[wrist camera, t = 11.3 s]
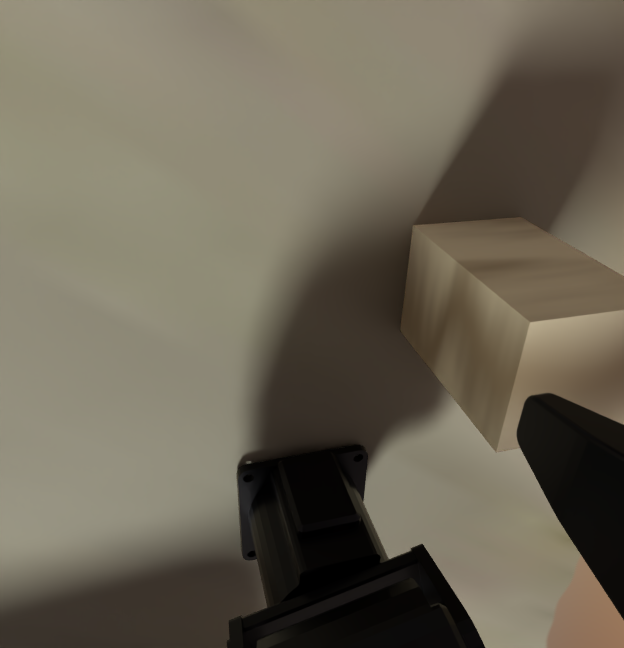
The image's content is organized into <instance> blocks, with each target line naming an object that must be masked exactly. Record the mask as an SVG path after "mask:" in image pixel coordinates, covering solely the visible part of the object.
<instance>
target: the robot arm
mask: <svg viewBox="0 0 624 648" xmlns="http://www.w3.org/2000/svg"><path fill="white" fill-rule="evenodd" d="M516 436H517V441H518V444H519V446H520V448H521V450H522V452H523V454H524V456H525V458H526V460H527V462H528V463H529V465H530V467H531V469H532V471H533V473H534V475H535V477H536V479H537V481H538V482H539V484H540V486H541V488H542V490H543V492H544V494H545V496H546V498H547V500H548V502H549V503H550V505H551V507H552V509H553V511H554V513H555V514H556V516H557V518H558V520H559V521H560V523H561V525H562V526H563V528H564V529H565V531H566V533H567V534H568V536H569V537H570V539H571V540H572V542H573V543H574V545H575V546H576V548H577V549H578V551H579V552H580V554H581V555H582V557H583V558H584V560H585V562H586V563H587V564H588V566H589V568H590V569H591V570H592V572H593V574H594V575H595V577H596V578H597V580H598V581H599V583H600V584H601V586H602V587H603V589H604V591H605V592H606V594H607V595H608V597H609V598H610V599H611V601H612V602H613V604H614V606H615V607H616V609H617V610H618V612H619V613H620V615H621V616H622V618H623V619H624V425H623V424H621V423H619V422H616V421H614V420H612V419H610V418H607V417H605V416H603V415H601V414H598V413H596V412H594V411H591V410H589V409H587V408H585V407H582V406H580V405H578V404H576V403H573V402H571V401H569V400H567V399H564V398H562V397H560V396H558V395H555V394H553V393H542V394H536V395H531V396H529V397H528V398H527V399H526V400H525V402H524V405H523V409H522V412H521V416H520V420H519V423H518V427H517V431H516ZM358 454H359V455H358ZM356 455H357V456H356ZM367 460H368V454H367V452H366V450H365V448H364V447H363V446H362V445H353V446H348V447H342V448H337V449H331V450H325V451H320V452H314V453H309V454H303V455H297V456H292V457H286V458H281V459H275V460H269V461H264V462H258V463H253V464H247V465H244V466H242V467H240V468H239V469H238V471H237V488H238V503H239V519H240V535H241V550H242V555H243V558H244V559H245V560H255V559H257V561H258V566H259V570H260V575H261V580H262V584H263V589H264V593H265V598H266V603H267V607H268V608H265V609H263V610H260V611H258V612H255V613H253V614H250V615H248V616H245V617H242V616H239V617H237V618H234V619H232V620H229V634H230V640H227V648H485V646H484V644H483V642H482V640H481V638H480V636H479V634H478V631H477V629H476V628H475V626H474V624H473V622H472V620H471V618H470V617H469V615H468V613H467V612H466V610H465V608H464V607H463V605H462V604H461V602H460V601H459V599H458V598H457V596H456V594H455V593H454V591H453V590H452V588H451V587H450V585H449V584H448V582H447V581H446V579H445V578H444V576H443V574H442V573H441V571H440V570H439V568H438V567H437V565H436V564H435V562H434V561H433V559H432V558H431V556H430V555H429V553H428V551H427V550H426V548H425V547H424V545H423V544H420V545H418V546H415V547H413V548H411V551H409V552H406V553H404V554H401V555H399V556H396V557H394V558H391V559H388V557H387V554H386V552H385V550H384V548H383V545H382V543H381V541H380V539H379V537H378V534H377V532H376V530H375V528H374V525H373V523H372V521H371V519H370V517H369V514H368V512H367V510H366V508H365V505H364V503H363V499H364V490H365V480H366V470H367ZM248 474H251V475H249V476H245V475H248Z"/></svg>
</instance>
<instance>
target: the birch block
mask: <svg viewBox="0 0 624 648" xmlns="http://www.w3.org/2000/svg"><path fill="white" fill-rule="evenodd" d="M400 331H401V333H402V334H403V335H404V336H405V338H406V339H407V340H408V342H409V343H410V344H411V345H412V347H413V348H414V349H415V350H416V352H417V353H418V354H419V355H420V357H421V358H422V359H423V361H424V362H425V363H426V364H427V366H428V367H429V368H430V369H431V371H432V372H433V373H434V374H435V376H436V377H437V378H438V380H439V381H440V382H441V383H442V385H443V386H444V387H445V388H446V390H447V391H448V392H449V393H450V395H451V396H452V397H453V399H454V400H455V401H456V402H457V404H458V405H459V406H460V407H461V409H462V410H463V411H464V412H465V414H466V415H467V416H468V418H469V419H470V420H471V421H472V423H473V424H474V425H475V426H476V428H477V429H478V430H479V431H480V433H481V434H482V435H483V436H484V438H485V439H486V440H487V442H488V443H489V444H490V445H491V447H492V448H493V449H494V450H495V452H501V451H507V450H512V449H517V448H520V446H519V444H518V441H517V436H516V431H517V427H518V423H519V420H520V416H521V412H522V409H523V405H524V402H525V400H526V399H527V398H528V397H529V396H531V395H536V394H542V393H553V394H555V395H558V396H560V397H562V398H564V399H567V400H569V401H571V402H573V403H576V404H578V405H580V406H582V407H585V408H587V409H589V410H591V411H594V412H596V413H598V414H601V415H603V416H605V417H607V418H610V419H612V420H614V421H616V422H619V423H621V424H623V422H624V276H622V275H621V274H619V273H617V272H615V271H614V270H612V269H610V268H608V267H607V266H605V265H603V264H601V263H600V262H598V261H596V260H594V259H593V258H591V257H589V256H588V255H586V254H584V253H582V252H581V251H579V250H577V249H575V248H574V247H572V246H570V245H568V244H567V243H565V242H563V241H561V240H560V239H558V238H556V237H555V236H553V235H551V234H549V233H548V232H546V231H544V230H542V229H541V228H539V227H537V226H535V225H534V224H532V223H530V222H529V221H527V220H525V219H523V218H522V217H514V218H501V219H488V220H475V221H463V222H450V223H437V224H424V225H413V230H412V238H411V246H410V255H409V263H408V271H407V279H406V287H405V295H404V303H403V311H402V319H401V327H400Z"/></svg>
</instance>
